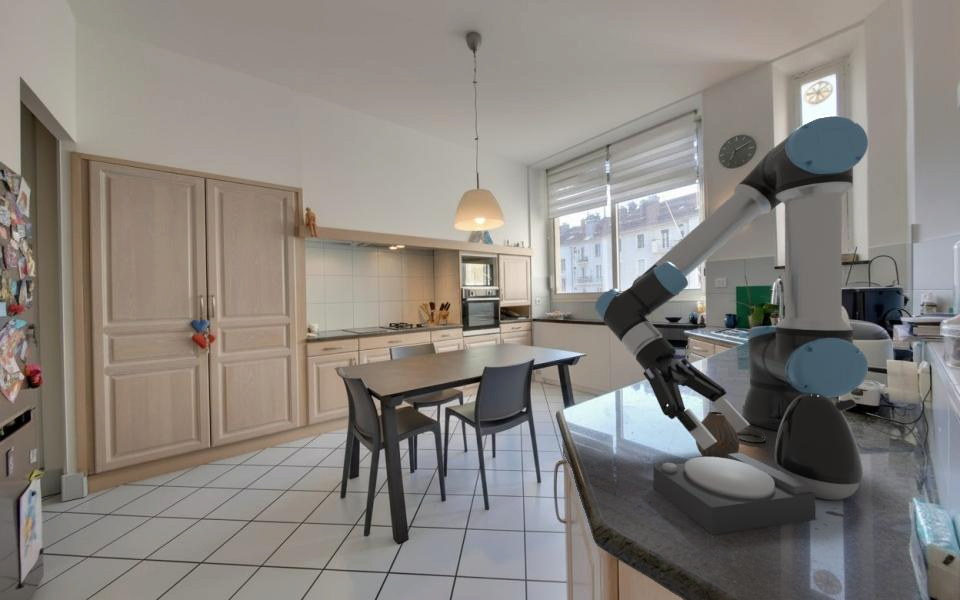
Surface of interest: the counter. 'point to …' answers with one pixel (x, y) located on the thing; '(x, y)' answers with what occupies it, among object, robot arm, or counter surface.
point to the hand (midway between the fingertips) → (728, 437)
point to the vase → (719, 436)
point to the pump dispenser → (819, 446)
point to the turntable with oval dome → (734, 493)
